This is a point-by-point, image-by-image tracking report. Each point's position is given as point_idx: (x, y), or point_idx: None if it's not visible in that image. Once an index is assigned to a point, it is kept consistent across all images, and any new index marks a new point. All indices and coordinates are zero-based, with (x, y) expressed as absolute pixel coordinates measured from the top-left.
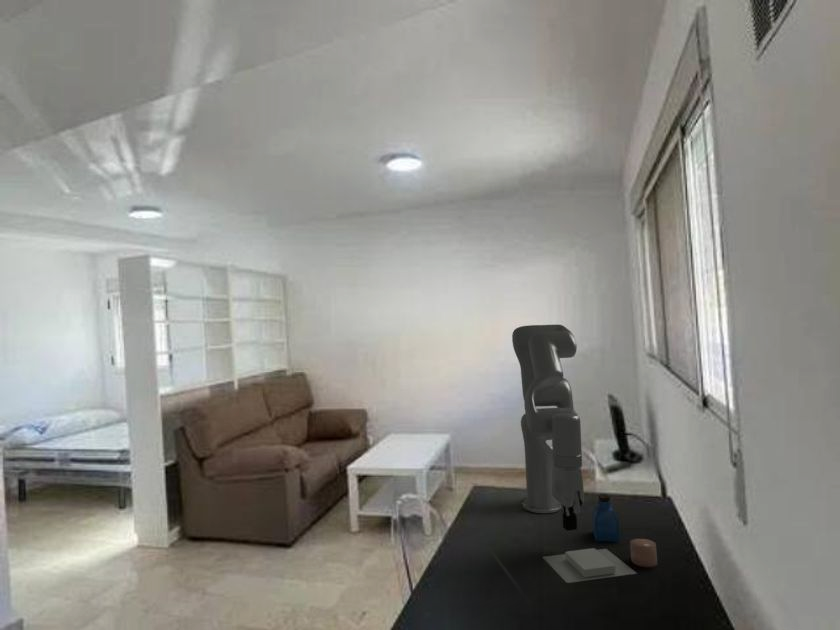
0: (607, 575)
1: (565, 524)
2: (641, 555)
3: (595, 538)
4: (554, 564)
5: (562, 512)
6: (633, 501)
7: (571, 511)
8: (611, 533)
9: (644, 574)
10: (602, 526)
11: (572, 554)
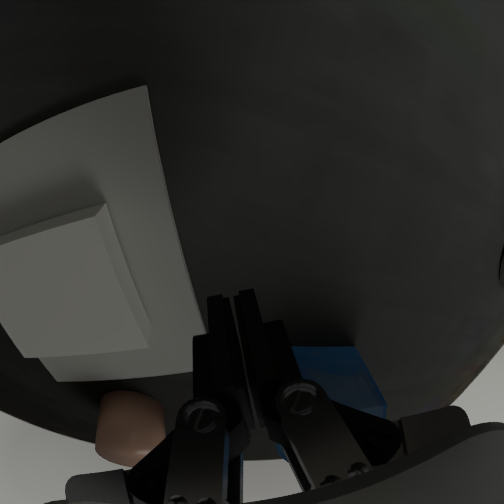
0: None
1: (209, 324)
2: (97, 427)
3: (300, 355)
4: (58, 138)
5: (301, 379)
6: (437, 405)
7: (136, 471)
8: None
9: (72, 390)
10: None
11: (67, 246)
